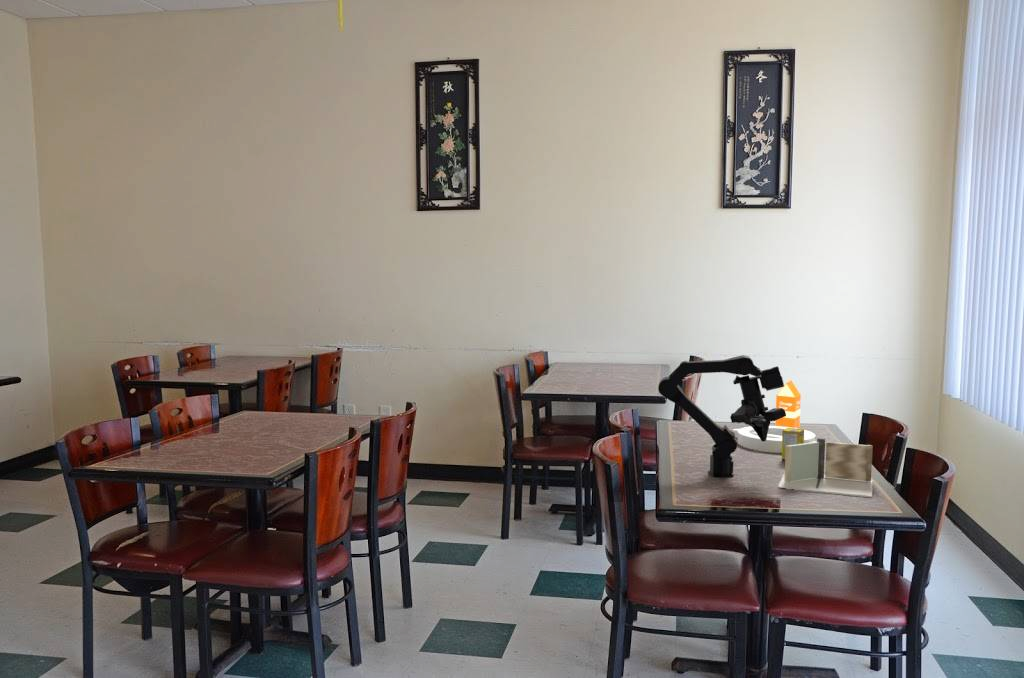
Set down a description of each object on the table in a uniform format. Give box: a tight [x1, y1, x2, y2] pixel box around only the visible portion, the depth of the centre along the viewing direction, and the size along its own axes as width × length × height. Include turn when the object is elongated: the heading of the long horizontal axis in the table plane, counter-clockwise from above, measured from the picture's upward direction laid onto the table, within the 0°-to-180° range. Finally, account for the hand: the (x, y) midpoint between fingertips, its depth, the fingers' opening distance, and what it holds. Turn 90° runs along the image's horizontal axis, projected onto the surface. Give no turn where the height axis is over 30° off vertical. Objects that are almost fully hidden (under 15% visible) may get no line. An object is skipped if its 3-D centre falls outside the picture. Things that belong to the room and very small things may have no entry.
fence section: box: [816, 437, 874, 482], centre depth 272 cm, size 16×2×13 cm, turn 67°
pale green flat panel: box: [784, 441, 819, 482], centre depth 271 cm, size 2×13×11 cm, turn 117°
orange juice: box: [774, 380, 801, 429], centre depth 352 cm, size 8×9×20 cm
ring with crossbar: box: [731, 425, 817, 454], centre depth 326 cm, size 28×28×5 cm
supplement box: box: [781, 428, 805, 462], centre depth 300 cm, size 6×6×11 cm
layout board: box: [777, 471, 874, 499], centre depth 269 cm, size 27×21×1 cm
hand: (764, 441), depth 277 cm, fingers closed
